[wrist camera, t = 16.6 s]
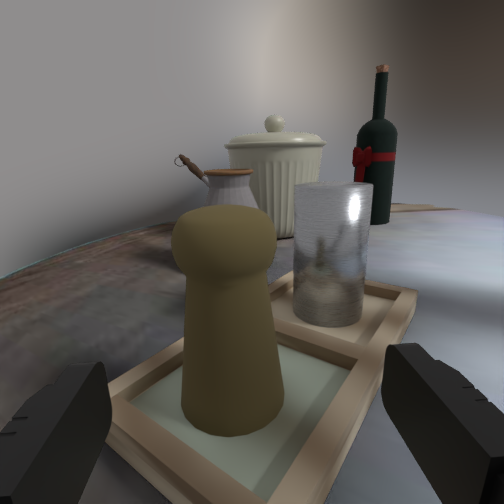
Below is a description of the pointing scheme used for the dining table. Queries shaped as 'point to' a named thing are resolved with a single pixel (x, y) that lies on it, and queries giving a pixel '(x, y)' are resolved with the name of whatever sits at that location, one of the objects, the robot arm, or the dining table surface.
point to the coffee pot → (224, 185)
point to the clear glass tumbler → (330, 251)
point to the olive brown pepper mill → (228, 320)
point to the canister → (277, 168)
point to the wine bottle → (377, 152)
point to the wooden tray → (278, 430)
